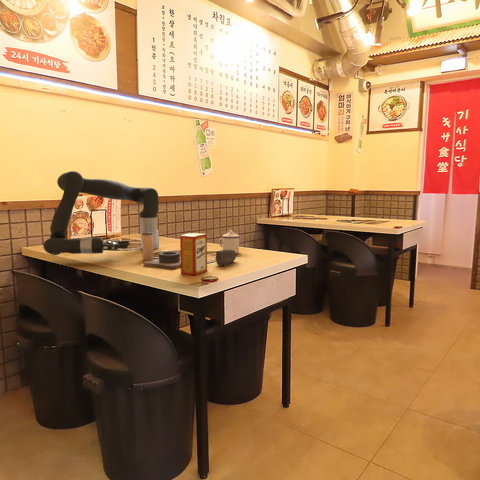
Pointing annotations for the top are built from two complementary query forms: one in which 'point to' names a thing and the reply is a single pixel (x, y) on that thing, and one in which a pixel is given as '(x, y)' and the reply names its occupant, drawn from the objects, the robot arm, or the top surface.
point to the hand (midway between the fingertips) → (128, 244)
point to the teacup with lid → (230, 241)
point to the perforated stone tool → (225, 257)
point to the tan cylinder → (147, 245)
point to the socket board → (163, 265)
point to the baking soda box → (193, 253)
